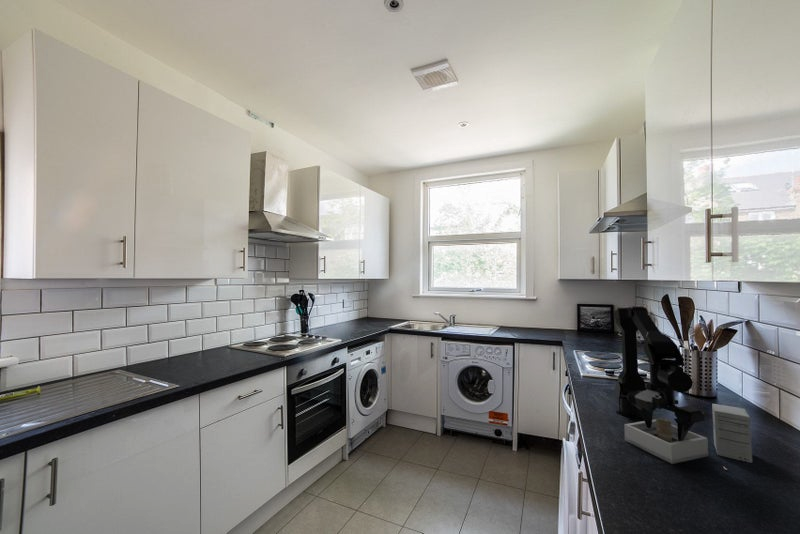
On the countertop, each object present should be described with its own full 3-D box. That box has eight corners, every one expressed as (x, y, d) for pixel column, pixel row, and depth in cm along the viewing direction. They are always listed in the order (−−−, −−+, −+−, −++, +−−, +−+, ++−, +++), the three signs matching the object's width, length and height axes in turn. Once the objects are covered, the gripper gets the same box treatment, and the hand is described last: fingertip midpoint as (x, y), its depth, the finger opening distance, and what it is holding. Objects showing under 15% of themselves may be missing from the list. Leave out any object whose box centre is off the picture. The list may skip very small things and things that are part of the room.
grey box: (624, 440, 105) (624, 424, 105) (658, 434, 109) (657, 418, 109) (671, 463, 91) (671, 445, 92) (708, 456, 95) (707, 438, 95)
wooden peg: (654, 442, 101) (653, 419, 102) (662, 441, 102) (662, 417, 103) (666, 448, 98) (665, 423, 98) (675, 446, 99) (674, 422, 99)
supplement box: (713, 445, 102) (711, 402, 102) (748, 452, 97) (746, 408, 98) (715, 455, 96) (713, 410, 96) (753, 463, 91) (750, 416, 92)
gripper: (613, 375, 108) (615, 424, 107) (675, 394, 90) (677, 453, 89) (640, 372, 111) (641, 420, 110) (704, 390, 93) (707, 447, 92)
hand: (664, 434), depth 100 cm, fingers open, 9 cm apart
